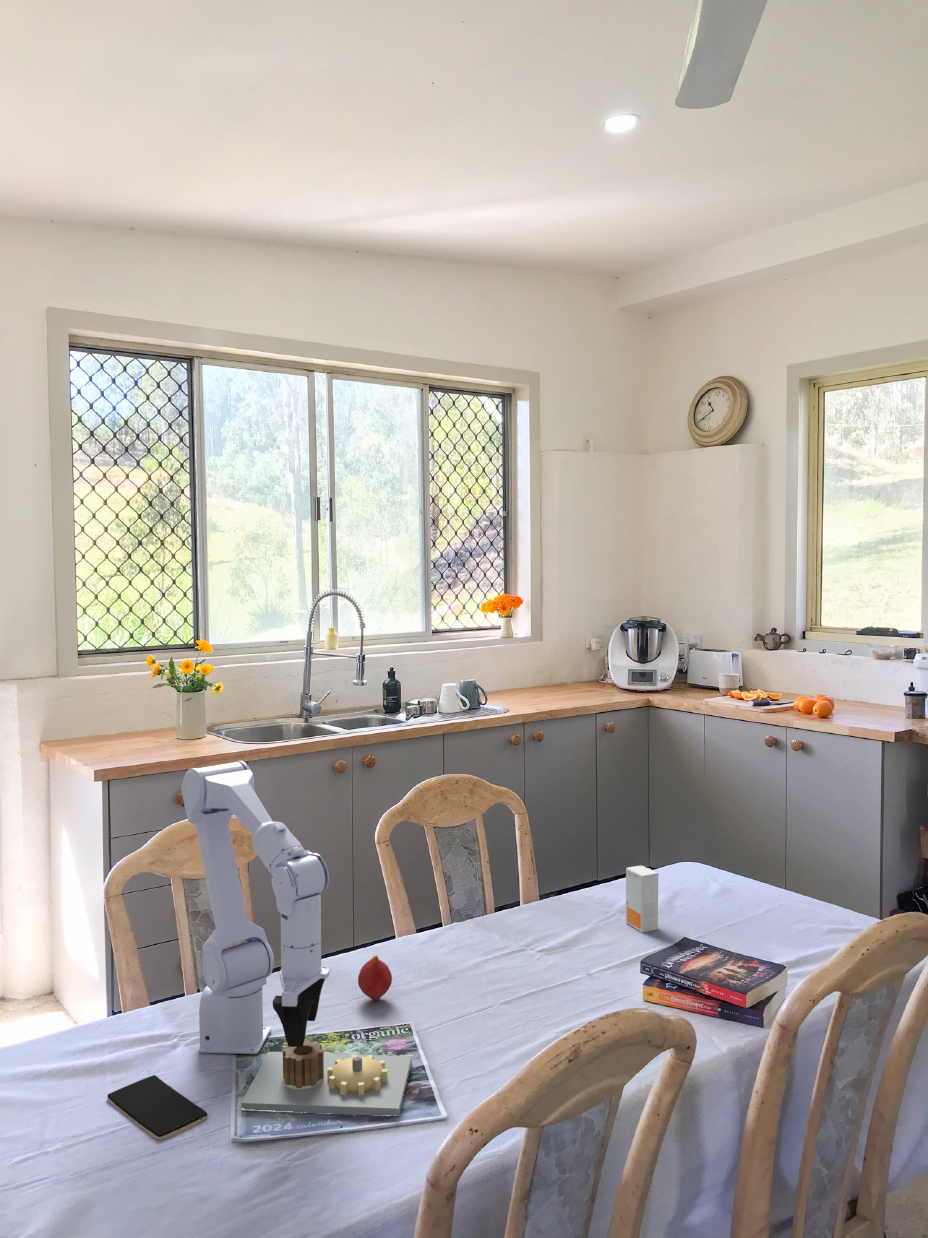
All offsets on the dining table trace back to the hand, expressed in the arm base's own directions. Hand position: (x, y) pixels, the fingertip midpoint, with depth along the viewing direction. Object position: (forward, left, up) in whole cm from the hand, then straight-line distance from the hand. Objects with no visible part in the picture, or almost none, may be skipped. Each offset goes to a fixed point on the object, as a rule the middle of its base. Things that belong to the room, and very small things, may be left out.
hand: (302, 1032), depth 139 cm
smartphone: (-19, -7, -9) cm, 22 cm away
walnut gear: (0, 0, -7) cm, 7 cm away
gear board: (+4, 0, -8) cm, 9 cm away
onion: (+6, +28, -8) cm, 30 cm away
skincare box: (+56, +65, -8) cm, 86 cm away
